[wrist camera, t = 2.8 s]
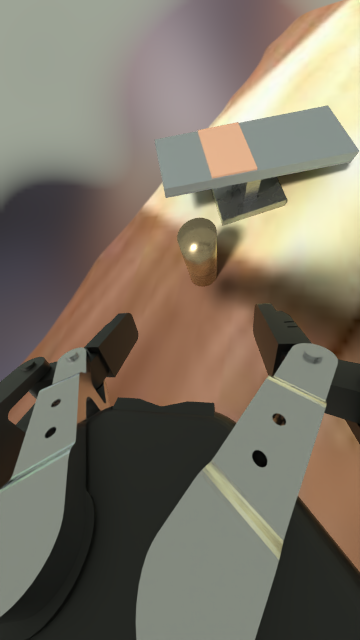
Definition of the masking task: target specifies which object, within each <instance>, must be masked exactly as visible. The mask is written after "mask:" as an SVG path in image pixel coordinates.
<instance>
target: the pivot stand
mask: <svg viewBox="0 0 360 640" xmlns="http://www.w3.org/2000/svg"><path fill="white" fill-rule="evenodd" d="M211 190H212V193H213V196H214V200H215V203H216V206H217V209H218V213H219V216H220V219H221V223H222V226H223V225H226V224H229V223H232V222H235V221H238V220H241V219H244V218H247V217H250V216H253V215H256V214H260V213H263V212H266V211H269V210H272V209H275V208H278V207H281V206H284V205H285V203H286V201H287V198H286V196H285V194H284V192H283V189H282V187H281V185H280V183H279V181H278V179H277V177H271V178H266V179H261V180H256V181H251V182H245V183H240V184H235V185H230V186H225V187H220V188H214V189H211Z"/></svg>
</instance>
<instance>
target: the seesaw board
mask: <svg viewBox="0 0 360 640" xmlns="http://www.w3.org/2000/svg"><path fill="white" fill-rule="evenodd" d="M155 145H156V151H157V156H158V161H159V166H160V171H161V176H162V181H163V186H164V191H165V197H166V198H168V197H173V196H178V195H183V194H189V193H194V192H199V191H204V190H209V189H214V188H220V187H225V186H230V185H235V184H240V183H245V182H251V181H256V180H261V179H266V178H271V177H277V176H282V175H287V174H292V173H297V172H302V171H308V170H313V169H318V168H323V167H328V166H334V165H339V164H344V163H349V162H351V161H352V160H353V159H354V157H355V156H356V155H357V154H358V152H359V150H358V148H357V147H356V146H355V144H354V143H353V141H352V140H351V138H350V137H349V135H348V134H347V133H346V131H345V130H344V128H343V127H342V125H341V124H340V122H339V121H338V119H337V118H336V117H335V115H334V114H333V112H332V111H331V109H330V108H329V106H323V107H318V108H313V109H308V110H303V111H298V112H293V113H288V114H283V115H277V116H272V117H267V118H262V119H257V120H252V121H247V122H242V123H238V122H237V123H232V124H227V125H222V126H217V127H212V128H207V129H202V130H198V131H197V132H192V133H187V134H182V135H176V136H171V137H166V138H161V139H156V140H155Z"/></svg>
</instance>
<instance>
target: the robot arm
mask: <svg viewBox="0 0 360 640" xmlns="http://www.w3.org/2000/svg"><path fill="white" fill-rule="evenodd" d="M253 332H254V337H255V340H256V343H257V345H258V348H259V351H260V353H261V356H262V359H263V362H264V364H265V367H266V370H267V373H268V375H269V376H268V377H267V379H266V380H265V381H264V383H263V384H262V386H261V387H260V389H259V390H258V392H257V393H256V395H255V396H254V398H253V399H252V401H251V402H250V404H249V405H248V407H247V408H246V410H245V411H244V413H243V414H242V416H241V418H240V419H239V421H238V422H237V423H236V422H234V421H233V420H231V419H230V418H228V417H227V416H224V415H222V414H220V413H217V412H215V407H214V403H204V402H183V403H178V404H173V405H168V406H157V405H155V404H152V403H149V402H147V401H144V400H141V399H135V398H118V399H117V401H116V402H115V404H114V406H111V407H110V405H109V398H108V391H107V384H106V382H105V378H106V377H115V376H116V375H117V373H118V371H119V370H120V368H121V366H122V365H123V363H124V361H125V360H126V358H127V356H128V355H129V353H130V351H131V350H132V348H133V346H134V345H135V343H136V341H137V339H138V331H137V328H136V325H135V322H134V320H133V317H132V315H131V314H130V313H121V314H118V315H117V316H116V317H115V318H114V319H113V320H112V321H111V322H110V323H108V324H107V325H106V326H105V327H104V328H103V329H102V330H101V331H100V332H99V333H98V334H97V335H96V336H95V337H94V338H93V339H92V340H91V341H90V342H89V343H88V344H87V345H86V346H85V347H84V348H76V349H73V350H71V351H69V352H67V353H65V354H64V355H63V356H62V357H61V358H60V359H59V360H58V362H54V363H50V364H49V363H48V362H47V361H46V360H45V358H43V357H37V358H34V359H31V360H29V361H27V362H25V363H24V364H22V365H21V366H19V367H18V368H17V369H15V370H14V371H13V372H12V373H11V374H9V375H8V376H7V377H6V378H5V379H3V380H2V381H1V382H0V640H360V572H359V571H358V569H357V568H356V567H355V566H354V564H353V563H352V562H351V561H350V560H349V558H348V557H347V556H346V555H345V553H344V552H343V551H342V550H341V548H340V547H339V546H338V545H337V543H336V542H335V541H334V540H333V539H332V537H331V536H330V535H329V534H328V532H327V531H326V530H325V529H324V527H323V526H322V525H321V524H320V522H319V521H318V520H317V519H316V517H315V516H314V515H313V514H312V513H311V511H310V510H309V509H308V508H307V506H306V505H305V504H304V503H303V501H302V500H301V499H300V498H299V496H298V493H299V490H300V487H301V484H302V481H303V478H304V474H305V471H306V468H307V465H308V462H309V459H310V456H311V452H312V449H313V446H314V443H315V440H316V437H317V434H318V430H319V427H320V424H321V421H322V418H323V415H324V413H327V414H330V415H333V416H336V417H339V418H342V419H345V420H346V422H347V424H348V425H349V427H350V429H351V430H352V432H353V434H354V435H355V437H356V439H357V440H358V442H359V444H360V364H358V363H353V362H347V361H342V360H338V359H337V357H336V356H335V355H334V354H333V353H332V352H331V351H329V350H328V349H326V348H324V347H322V346H319V345H315V344H312V343H311V342H310V341H309V339H308V338H307V337H306V336H305V334H304V333H303V332H302V331H301V329H300V328H299V327H298V326H297V324H296V323H295V322H294V321H293V319H292V318H291V317H290V316H289V315H288V314H286V313H284V312H282V311H276V310H275V309H274V307H273V306H272V304H271V303H264V304H256V305H255V312H254V324H253ZM28 391H29V392H30V393H31V394H32V395H33V396H34V397H35V398H36V399H37V400H36V403H35V404H34V405H33V406H32V407H31V409H30V410H29V411H28V412H27V413H26V414H25V415H24V416H23V417H22V419H21V420H20V421H19V422H18V423H17V424H16V425H14V424H13V423H12V422H10V421H9V419H8V413H9V411H10V409H11V408H12V407H13V406H14V405H15V404H16V403H17V402H18V401H19V400H20V399H21V398H22V397H23V396H24V395H25V394H26V393H27V392H28ZM10 478H11V479H10Z"/></svg>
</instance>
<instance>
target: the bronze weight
mask: <svg viewBox="0 0 360 640" xmlns="http://www.w3.org/2000/svg"><path fill="white" fill-rule="evenodd" d="M177 240H178V244H179V246H180V249H181V252H182V255H183V258H184V260H185V263H186V266H187V269H188V272H189V275H190V277H191V280H192V282H193V283H194V284H195V285H197V286H202V287H203V286H208V285H210V284H212V283H213V282H214V281H215V279H216V277H217V234H216V227H215V225H214V224H213V223H212V222H211V221H210V220H208V219H205V218H195V219H192V220H190V221H188V222H186V223H185V224H184V225H183V226H182V227H181V228H180V230H179V232H178V236H177Z"/></svg>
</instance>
